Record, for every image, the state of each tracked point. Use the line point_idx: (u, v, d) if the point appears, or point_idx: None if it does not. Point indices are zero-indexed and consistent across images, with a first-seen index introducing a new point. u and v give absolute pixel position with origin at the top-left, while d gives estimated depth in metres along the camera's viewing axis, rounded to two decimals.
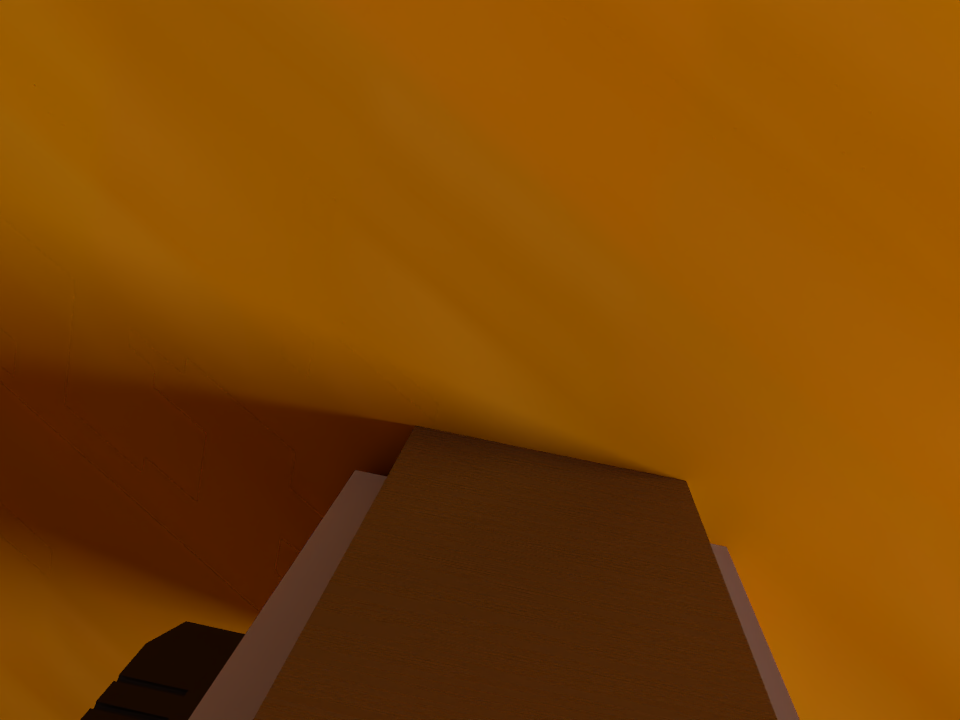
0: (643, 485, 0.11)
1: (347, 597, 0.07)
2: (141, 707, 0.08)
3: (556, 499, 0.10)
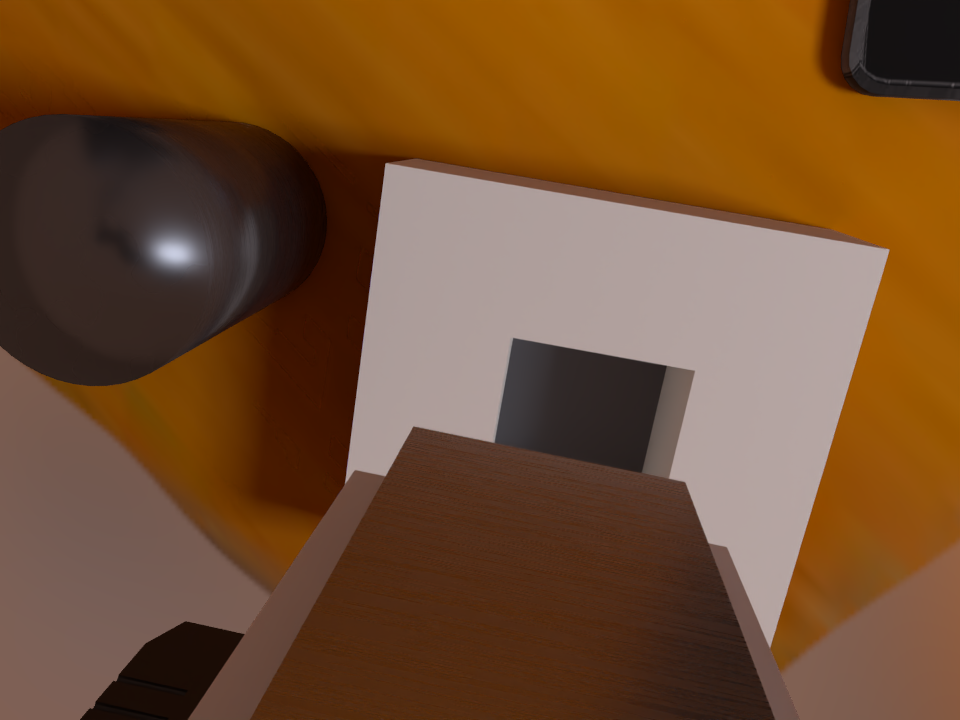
0: (642, 486, 0.11)
1: (344, 599, 0.07)
2: (141, 707, 0.08)
3: (554, 500, 0.10)
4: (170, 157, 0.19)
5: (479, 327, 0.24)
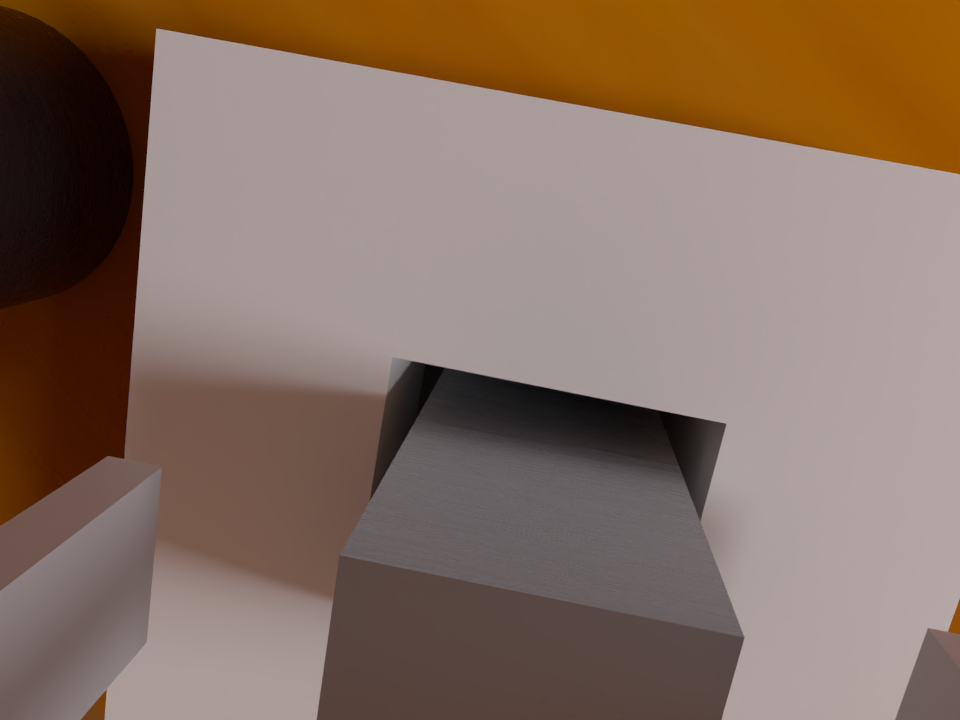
0: None
1: (438, 406, 0.13)
2: None
3: None
4: None
5: (335, 338, 0.13)
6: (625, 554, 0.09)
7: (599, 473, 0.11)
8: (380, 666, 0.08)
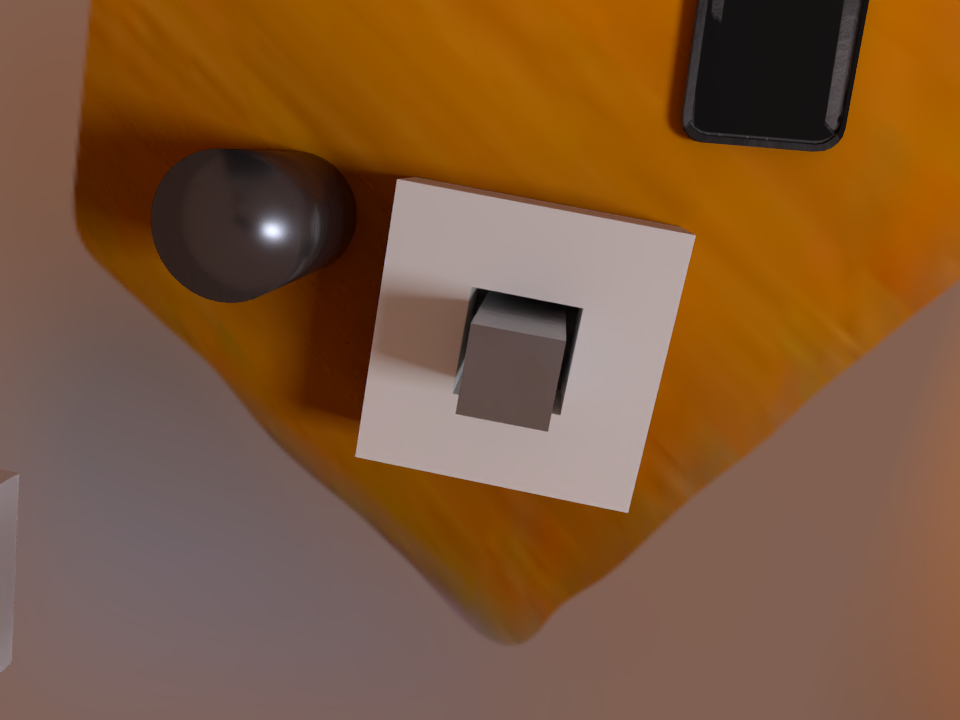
0: None
1: (487, 303, 0.39)
2: None
3: (528, 299, 0.42)
4: (278, 173, 0.34)
5: (452, 280, 0.39)
6: (541, 330, 0.35)
7: (538, 319, 0.37)
8: (480, 352, 0.34)
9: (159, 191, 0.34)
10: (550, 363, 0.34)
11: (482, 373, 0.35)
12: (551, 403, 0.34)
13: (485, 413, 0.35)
